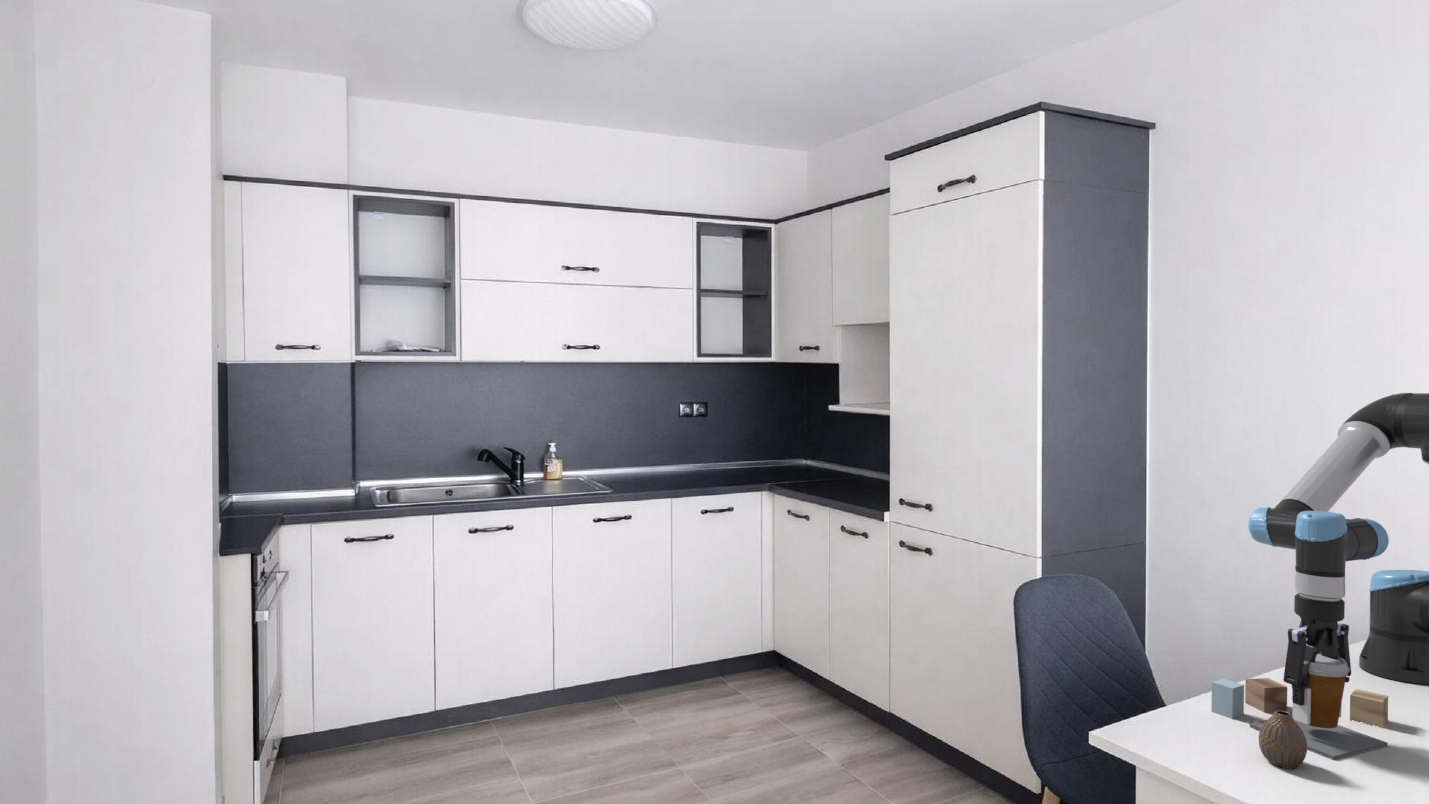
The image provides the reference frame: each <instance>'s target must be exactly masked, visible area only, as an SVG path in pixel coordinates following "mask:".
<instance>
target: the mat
mask: <svg viewBox="0 0 1429 804" xmlns="http://www.w3.org/2000/svg"><path fill="white" fill-rule="evenodd" d="M1291 715H1293V713H1291ZM1267 720H1268V719H1264V720H1259V721H1255V722H1251V723H1249V728H1253V729H1254V730H1256V731H1259V732H1260V729H1261V727H1262V725H1263V724H1264V723H1265V722H1266V721H1267ZM1294 721H1295V722H1296V723H1297V724H1298V726H1299V727H1300V728H1301V730H1302V731H1303V733H1304V735H1305V738H1306V741H1307V751H1311V752H1312V751H1313V753H1316V754H1318V755H1320V754H1321V756H1323V757H1326V758H1328V759H1330V758H1331V760H1332V761H1333V760H1338V759H1342V758H1346V757H1349V756H1350V757H1351V756H1353V754H1354V755H1358V754H1360V753H1365V752H1369V751H1373V750H1376V748H1377V749H1380V748H1384V747H1388V741H1384V740H1382V739H1379V738H1376V737H1373V736H1370V735H1368V734H1365V733H1361V732H1359V731H1356V730H1353V729H1351V728H1348V727H1346V726H1343V725H1339V724H1338V725H1337V727H1335V728H1319V727H1314V726H1310V725H1307V724H1304V723H1302V722H1299V721H1296V720H1294ZM1372 749H1373V750H1372ZM1364 751H1365V752H1364ZM1341 757H1342V758H1341Z"/></svg>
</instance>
